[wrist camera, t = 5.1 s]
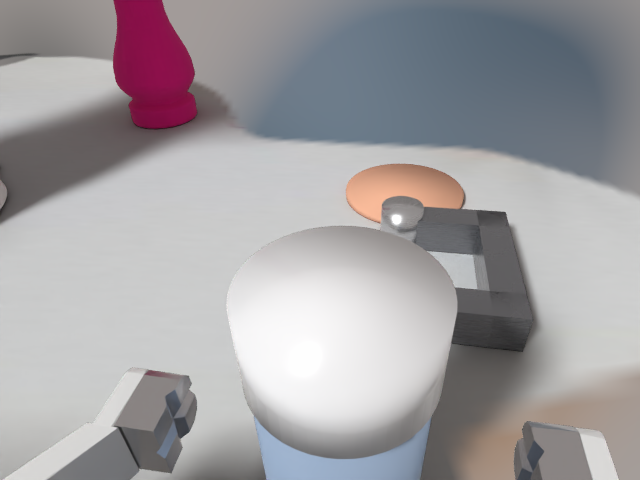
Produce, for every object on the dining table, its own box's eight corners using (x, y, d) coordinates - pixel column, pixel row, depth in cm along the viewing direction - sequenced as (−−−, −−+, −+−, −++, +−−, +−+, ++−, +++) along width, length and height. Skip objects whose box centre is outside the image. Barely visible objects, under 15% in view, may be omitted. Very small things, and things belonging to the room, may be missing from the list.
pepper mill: (204, 102, 49) (161, -139, 38) (199, 127, 44) (145, -148, 32) (135, 107, 49) (69, -136, 37) (120, 134, 43) (36, -145, 31)
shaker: (264, 614, 13) (189, 364, 7) (295, 477, 16) (263, 219, 10) (405, 645, 13) (465, 402, 6) (409, 496, 16) (452, 233, 9)
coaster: (338, 221, 30) (338, 216, 30) (353, 165, 36) (353, 161, 36) (466, 231, 28) (467, 226, 28) (459, 171, 35) (460, 166, 35)
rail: (321, 459, 17) (319, 421, 16) (365, 226, 29) (366, 193, 28) (553, 497, 16) (574, 459, 14) (498, 236, 28) (505, 202, 26)
